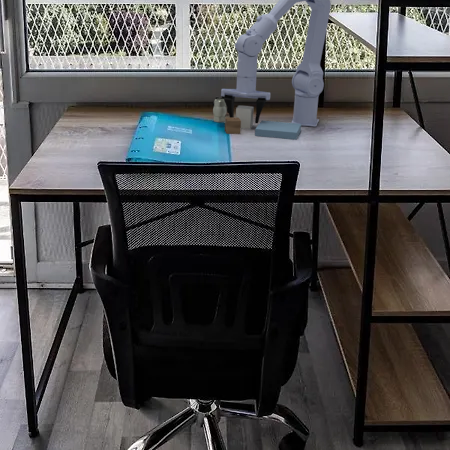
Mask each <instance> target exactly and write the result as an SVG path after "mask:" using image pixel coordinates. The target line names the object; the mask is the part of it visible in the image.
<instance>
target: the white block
mask: <svg viewBox="0 0 450 450" xmlns="http://www.w3.org/2000/svg"><path fill="white" fill-rule="evenodd" d="M235 108H236V109H235V118H239V119H240V120H241V129H243V130H251V129H252V128H253V126H254V125H253V123H254V108H255V107H254V106H250V105H237V107H235Z"/></svg>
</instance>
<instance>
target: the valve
mask: <svg viewBox="0 0 450 450" xmlns="http://www.w3.org/2000/svg"><path fill="white" fill-rule="evenodd" d="M224 98H225V96H221V97H219V96H218V95H217V96H215V98H214V101H213V103H212V106H213V109H212V113H213V122H216V123H225V117H226V115H227V114H229V112H228V108H227V106H226V103H225V101H224Z"/></svg>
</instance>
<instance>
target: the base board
mask: <svg viewBox="0 0 450 450" xmlns="http://www.w3.org/2000/svg"><path fill="white" fill-rule="evenodd" d="M254 131H255V132H254V136H255V137H264V138H276V139H286V140H297V139H298V137H299V135H300V133H301V131H302V125H301V124H296V123H291V122H283V121H273V120H272V121H271V120H261V121H260V122H258V125H257V126H256V128H255V130H254Z"/></svg>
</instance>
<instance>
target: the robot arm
mask: <svg viewBox="0 0 450 450" xmlns="http://www.w3.org/2000/svg"><path fill="white" fill-rule="evenodd" d="M301 2H305V3H306V4H307V5H308V6H309V8H310V9H311V12H310V17H309V21H308V27H307V31H306V32H307V33H306V39H305V43H304V51H303V55H302V61H301V62H300V63H299V64H298V65H297V67H296V70H295V73H294V74H293V76H292V79H291V84H292V88H293V89H294V103H293V117H292V120H291V122H290V123H296V124H301V127H302V126H303V127H312V128H313V127H317V126H318V123H319V120H320V119H319V118H318V117H317V116H318V115H317V114H318V108H319V107H318V105H319V96H320V94H321V93H322V92H323V90H324V85H325V83H324V79H323V78H324V71H323V69H322V67H321V60H322V55H323V49H324V45H325V39H326V34H327V29H328V23H329V18H330V12H331V8H332V7H331V6H332V4H331V0H278V1H277V3H276V4H275V5H274V6H273V7H272V9H271V10H270V11H269V13H264V14H263V13H262V15H258V16H257V17H256V21H255V22H254V24H253V25H252V26H250V28H247V30H245V32H246V33H244V34H241V35H240V36H239V37H238V38H237V39H236V42H235V43H234V46H235V47H234V48H235V50H236V51H237V67H236V68H237V70H236V73H237V74H236V88H221V90H220V91H221V93H220V97H222V96H225V98H224V101H225V103H226V109H227V108H228V112H229V113H228V116H229V117H228V118H235V113H234V111H235V110H234V108H235V100H236V98H246V99H247V98H248V99H256V101H255V104H256V105H255V106H256V108H255V109H256V110H255V118H254V119H255V120H254V121H255V122H254V123H255V124H259V123H260V122H259V121H260V116H261V114H262V111H263V109H264V106H265V104H266V103H267V101H270V100H271V92H270V91H268V92H267V91H263V90H262V91H260V90H257V87H256V86H257V74H258V73H257V72H258V56H259V55H258V54H259V53H261V52H262V50H263V44H265V42H266V41H267V40H268V39H269V37H270V36H271V35H272V34H273V33H275V31H276V30H277V29H278V21H280V19H282V17H283V16H285V14H287V12H288V11H289V10H291V9H292V7H293V6H294V5H296V3H301Z"/></svg>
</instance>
